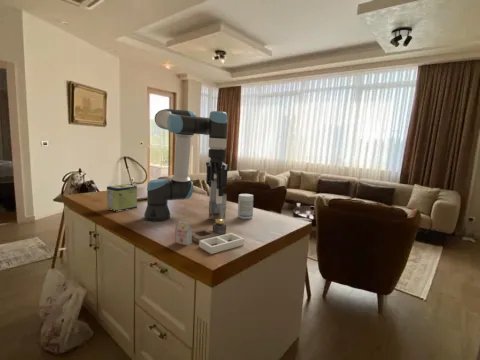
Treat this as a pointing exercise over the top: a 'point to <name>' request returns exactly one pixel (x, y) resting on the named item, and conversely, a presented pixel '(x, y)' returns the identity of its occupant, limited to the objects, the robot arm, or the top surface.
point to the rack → (221, 243)
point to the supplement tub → (245, 206)
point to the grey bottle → (214, 196)
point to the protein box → (121, 197)
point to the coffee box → (222, 210)
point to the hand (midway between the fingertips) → (215, 202)
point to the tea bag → (183, 233)
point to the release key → (219, 221)
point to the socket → (209, 232)
